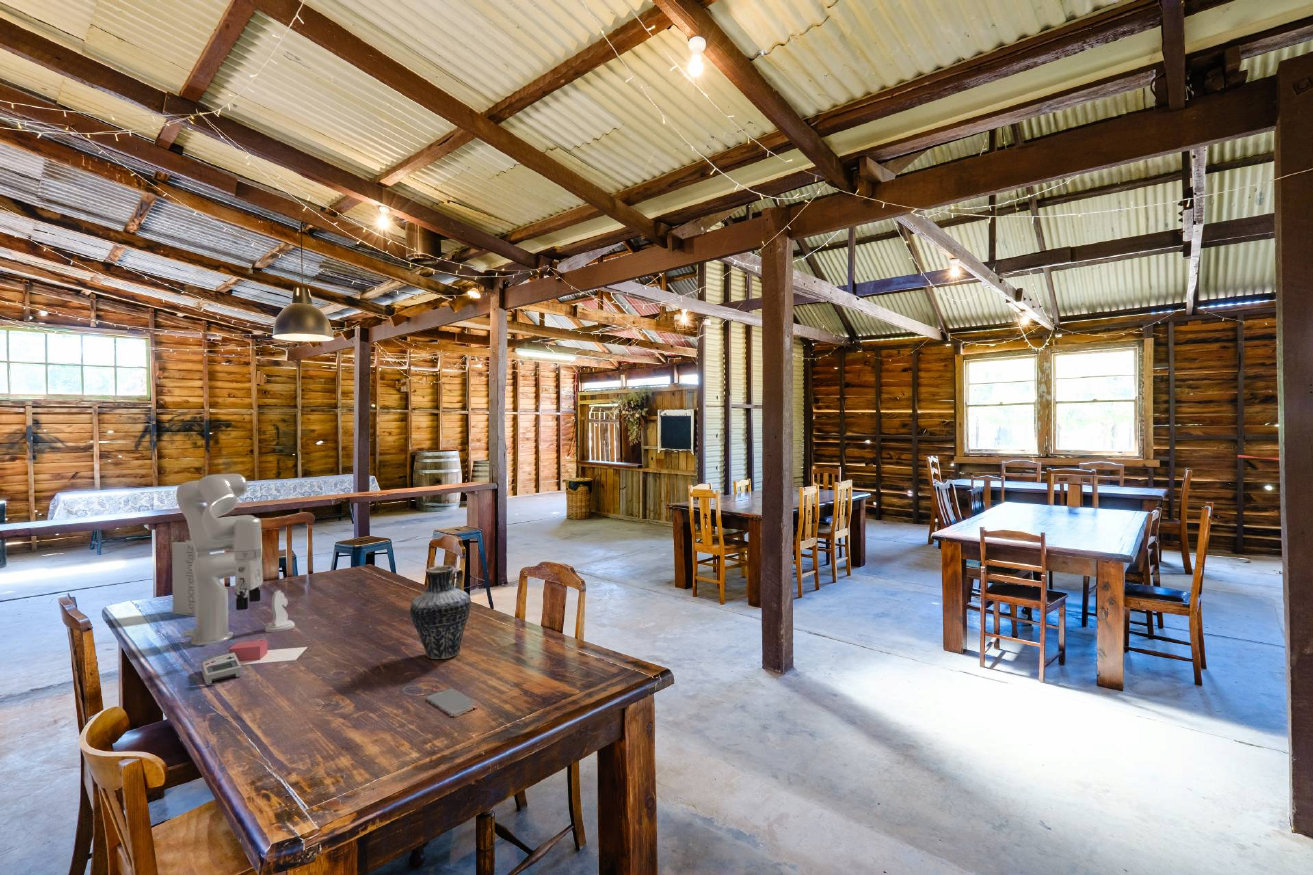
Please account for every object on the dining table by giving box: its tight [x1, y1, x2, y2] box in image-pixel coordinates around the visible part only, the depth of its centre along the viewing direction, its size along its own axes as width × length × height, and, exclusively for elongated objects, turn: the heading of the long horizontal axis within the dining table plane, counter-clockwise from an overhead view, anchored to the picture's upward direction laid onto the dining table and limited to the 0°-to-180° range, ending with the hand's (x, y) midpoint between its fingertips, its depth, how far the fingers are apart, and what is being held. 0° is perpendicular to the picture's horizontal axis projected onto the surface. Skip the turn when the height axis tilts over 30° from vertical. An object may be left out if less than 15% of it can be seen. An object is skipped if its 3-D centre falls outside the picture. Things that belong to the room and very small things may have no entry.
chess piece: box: [264, 589, 296, 633], centre depth 227 cm, size 10×10×15 cm
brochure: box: [171, 540, 211, 617], centre depth 247 cm, size 14×6×30 cm, turn 73°
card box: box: [228, 639, 268, 662], centre depth 196 cm, size 9×6×4 cm, turn 104°
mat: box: [239, 646, 308, 666], centre depth 197 cm, size 22×12×1 cm, turn 104°
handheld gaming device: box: [200, 653, 243, 685], centre depth 183 cm, size 9×15×4 cm, turn 43°
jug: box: [409, 564, 472, 660], centre depth 199 cm, size 21×19×30 cm
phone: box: [426, 687, 476, 715], centre depth 164 cm, size 8×16×1 cm, turn 48°
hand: (248, 605), depth 196 cm, fingers open, 9 cm apart
